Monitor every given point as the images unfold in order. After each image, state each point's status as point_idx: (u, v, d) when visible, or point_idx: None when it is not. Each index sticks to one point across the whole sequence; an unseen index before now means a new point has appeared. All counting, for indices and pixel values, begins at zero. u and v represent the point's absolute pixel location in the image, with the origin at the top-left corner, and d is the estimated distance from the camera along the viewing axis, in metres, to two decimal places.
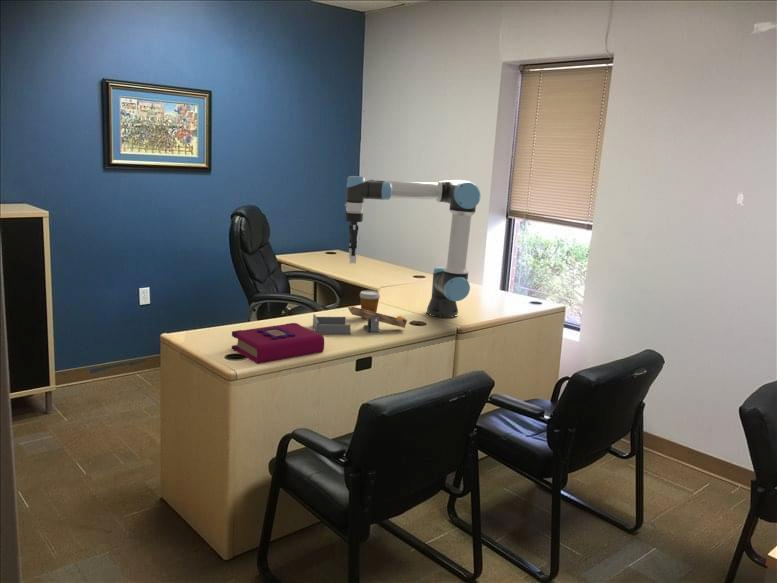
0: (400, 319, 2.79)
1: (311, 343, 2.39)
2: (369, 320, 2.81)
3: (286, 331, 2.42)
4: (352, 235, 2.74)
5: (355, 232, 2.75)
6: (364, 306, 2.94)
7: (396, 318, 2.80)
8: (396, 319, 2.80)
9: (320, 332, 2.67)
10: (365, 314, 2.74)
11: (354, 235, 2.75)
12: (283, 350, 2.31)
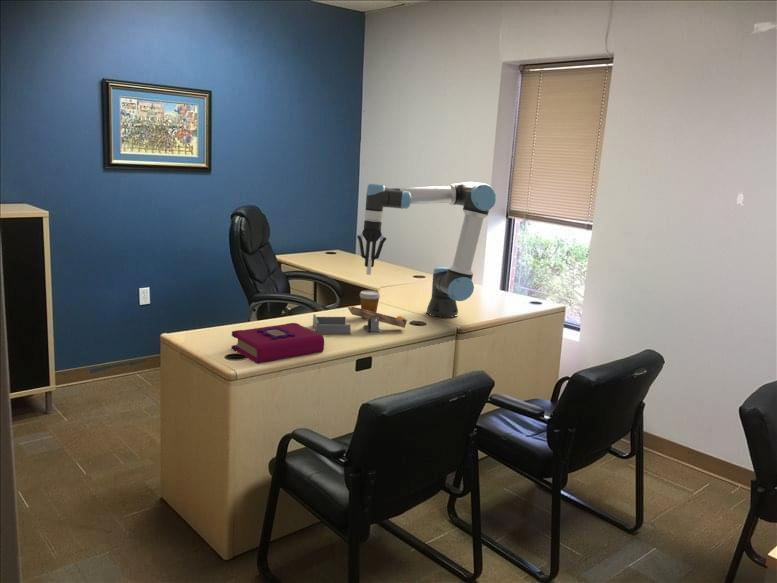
0: (400, 319, 2.79)
1: (311, 343, 2.39)
2: (369, 320, 2.81)
3: (286, 331, 2.42)
4: None
5: (359, 243, 2.79)
6: (364, 306, 2.94)
7: (396, 318, 2.80)
8: (396, 319, 2.80)
9: (320, 332, 2.67)
10: (365, 314, 2.74)
11: (360, 246, 2.80)
12: (283, 350, 2.31)
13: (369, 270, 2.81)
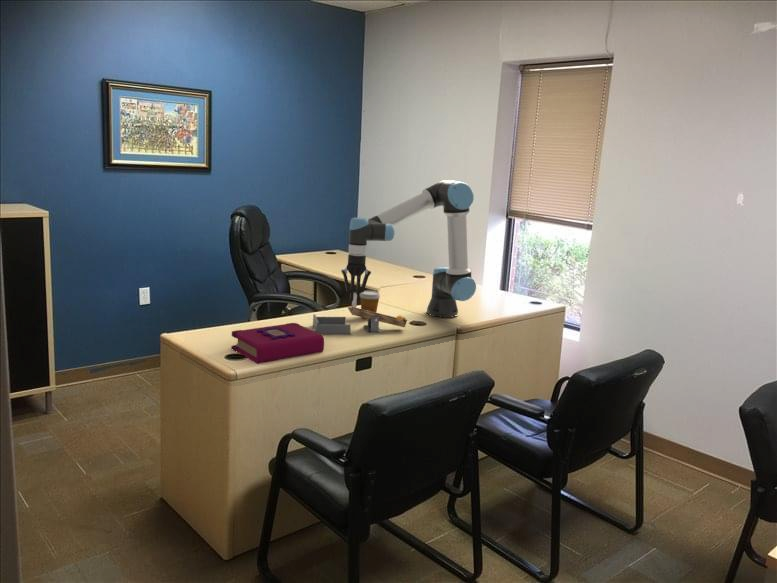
0: (400, 319, 2.79)
1: (311, 343, 2.39)
2: (369, 320, 2.81)
3: (286, 331, 2.42)
4: (344, 280, 2.77)
5: (344, 277, 2.76)
6: (364, 306, 2.94)
7: (396, 318, 2.80)
8: (396, 319, 2.80)
9: (320, 332, 2.67)
10: (365, 314, 2.74)
11: (344, 280, 2.77)
12: (283, 350, 2.32)
13: (354, 304, 2.79)
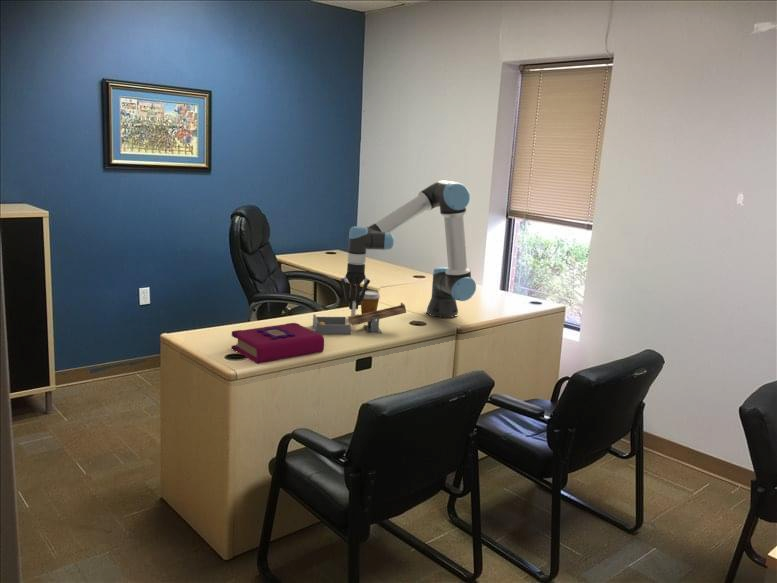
0: None
1: (311, 343, 2.39)
2: None
3: (286, 331, 2.42)
4: (343, 288, 2.78)
5: (343, 286, 2.76)
6: (364, 306, 2.94)
7: (324, 323, 2.73)
8: (323, 322, 2.73)
9: (320, 332, 2.67)
10: (364, 319, 2.74)
11: (343, 288, 2.77)
12: (283, 350, 2.31)
13: (353, 313, 2.79)
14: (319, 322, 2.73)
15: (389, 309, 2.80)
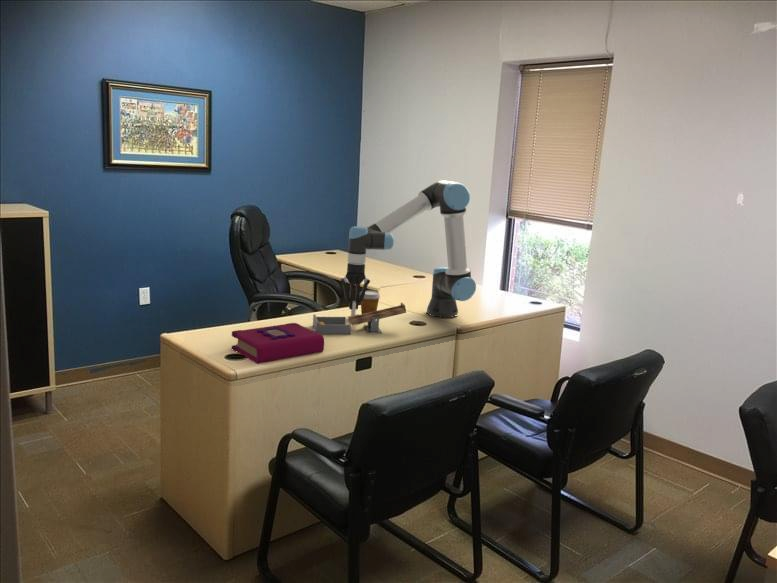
0: None
1: (311, 343, 2.39)
2: None
3: (286, 331, 2.42)
4: (343, 288, 2.78)
5: (343, 286, 2.76)
6: (364, 306, 2.94)
7: None
8: (322, 322, 2.73)
9: (320, 332, 2.67)
10: (364, 319, 2.74)
11: (343, 288, 2.77)
12: (283, 350, 2.31)
13: (353, 313, 2.79)
14: None
15: (389, 309, 2.80)
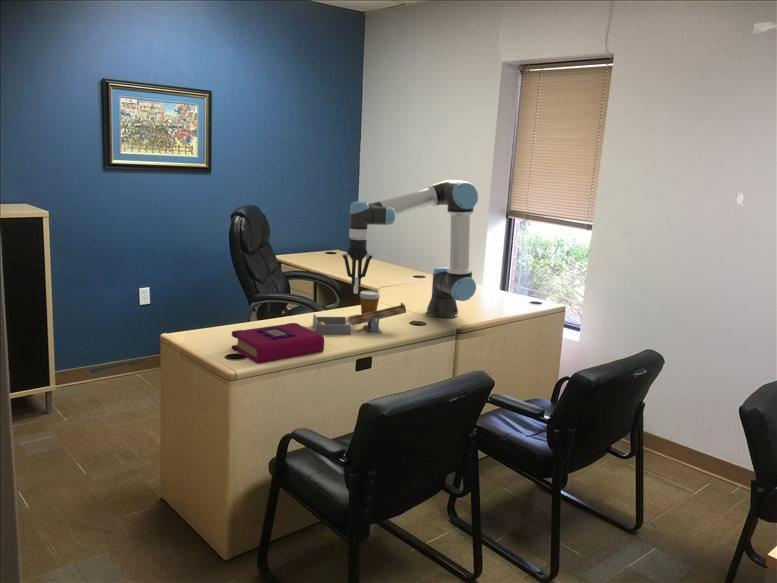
0: None
1: (311, 343, 2.39)
2: None
3: (286, 331, 2.42)
4: (345, 264, 2.76)
5: (345, 262, 2.74)
6: (364, 306, 2.94)
7: (324, 323, 2.73)
8: (323, 322, 2.73)
9: (320, 332, 2.67)
10: (364, 319, 2.74)
11: None
12: (283, 350, 2.31)
13: (356, 289, 2.77)
14: (319, 322, 2.73)
15: (389, 309, 2.80)
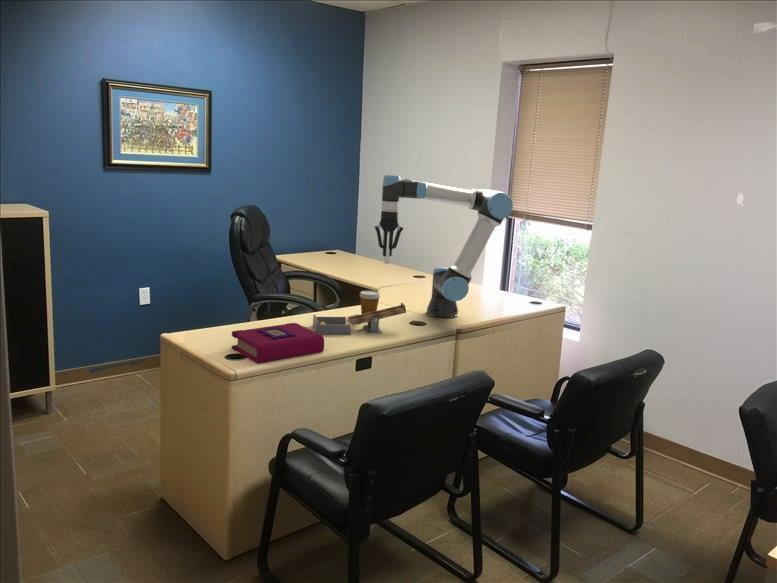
0: None
1: (311, 343, 2.39)
2: None
3: (286, 331, 2.42)
4: (377, 236, 2.87)
5: (377, 233, 2.85)
6: (364, 306, 2.94)
7: None
8: (324, 323, 2.73)
9: (320, 332, 2.67)
10: (364, 319, 2.74)
11: (377, 236, 2.86)
12: (283, 350, 2.31)
13: (387, 259, 2.88)
14: (320, 322, 2.73)
15: (389, 309, 2.80)
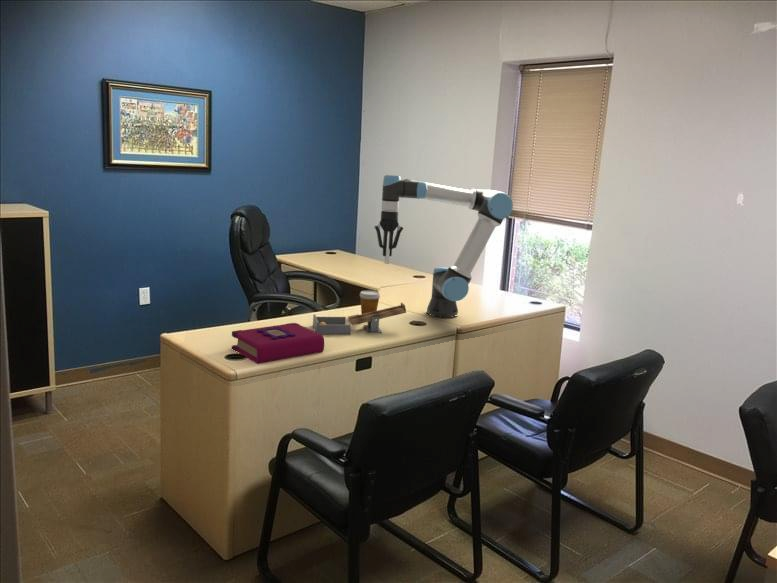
0: None
1: (311, 343, 2.39)
2: None
3: (286, 331, 2.42)
4: (377, 236, 2.87)
5: (377, 233, 2.85)
6: (364, 306, 2.94)
7: (325, 324, 2.73)
8: (325, 323, 2.73)
9: (320, 332, 2.67)
10: (364, 319, 2.74)
11: (377, 236, 2.86)
12: (283, 350, 2.31)
13: (387, 259, 2.88)
14: (321, 322, 2.73)
15: (389, 309, 2.80)
